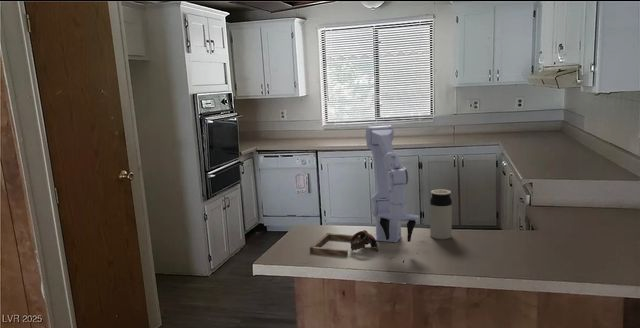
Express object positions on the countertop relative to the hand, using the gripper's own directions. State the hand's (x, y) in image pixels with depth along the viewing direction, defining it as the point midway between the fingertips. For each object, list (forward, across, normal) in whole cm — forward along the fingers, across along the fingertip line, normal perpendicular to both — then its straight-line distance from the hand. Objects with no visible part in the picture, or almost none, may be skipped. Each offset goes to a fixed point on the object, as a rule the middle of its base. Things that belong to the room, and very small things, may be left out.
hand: (398, 240), depth 166 cm
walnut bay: (+5, -23, 0) cm, 24 cm away
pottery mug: (+5, -13, 0) cm, 14 cm away
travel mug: (+5, +11, +22) cm, 25 cm away
